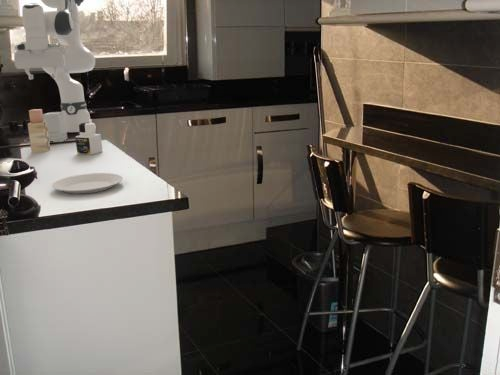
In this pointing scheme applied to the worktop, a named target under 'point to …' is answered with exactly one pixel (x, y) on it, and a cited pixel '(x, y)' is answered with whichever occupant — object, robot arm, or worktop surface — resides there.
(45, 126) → the tower top
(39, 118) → the pink rounded cylinder
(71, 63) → the robot arm
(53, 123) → the supplement box
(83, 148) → the medicine bottle
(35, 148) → the tower base
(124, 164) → the worktop surface
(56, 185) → the plate
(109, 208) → the worktop surface
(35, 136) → the tower mid
